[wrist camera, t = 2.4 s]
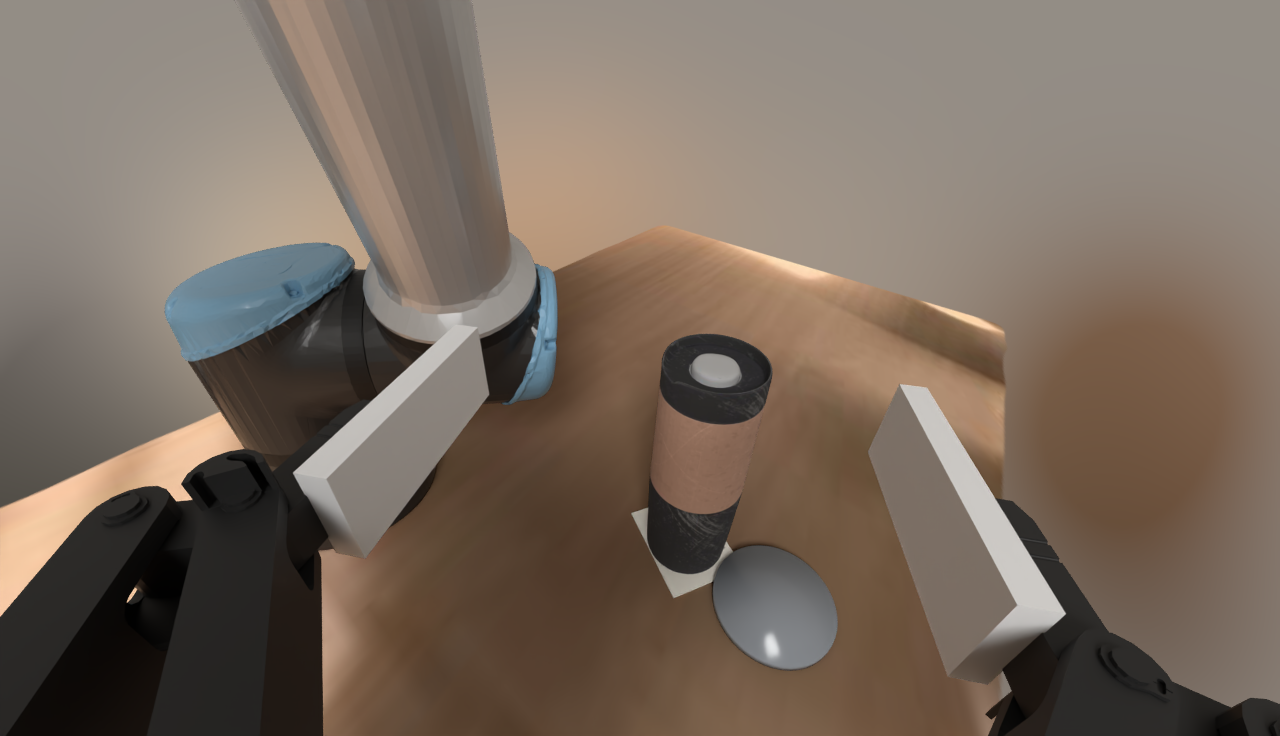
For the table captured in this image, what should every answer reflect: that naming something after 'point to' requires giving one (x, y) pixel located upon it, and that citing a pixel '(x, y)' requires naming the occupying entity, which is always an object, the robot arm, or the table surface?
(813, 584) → the slate coaster
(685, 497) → the travel mug
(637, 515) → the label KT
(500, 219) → the robot arm
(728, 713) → the table surface
